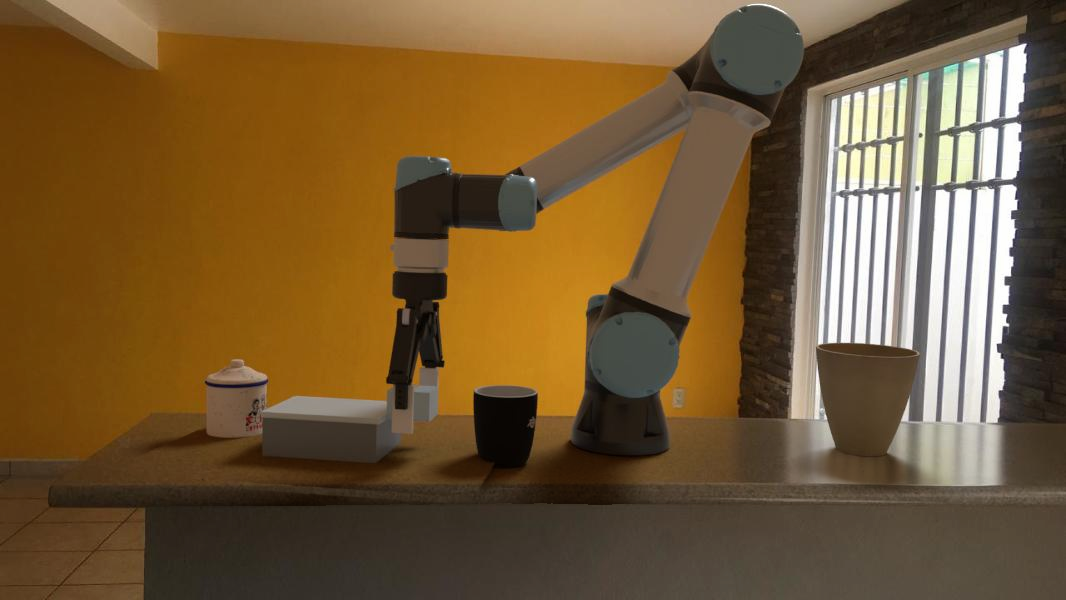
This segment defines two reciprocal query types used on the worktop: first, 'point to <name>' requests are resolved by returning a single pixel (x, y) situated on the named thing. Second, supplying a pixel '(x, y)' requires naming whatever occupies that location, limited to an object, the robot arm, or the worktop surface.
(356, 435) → the tub
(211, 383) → the teacup with lid
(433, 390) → the lid
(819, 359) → the plant pot
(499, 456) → the mug
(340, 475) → the worktop surface
